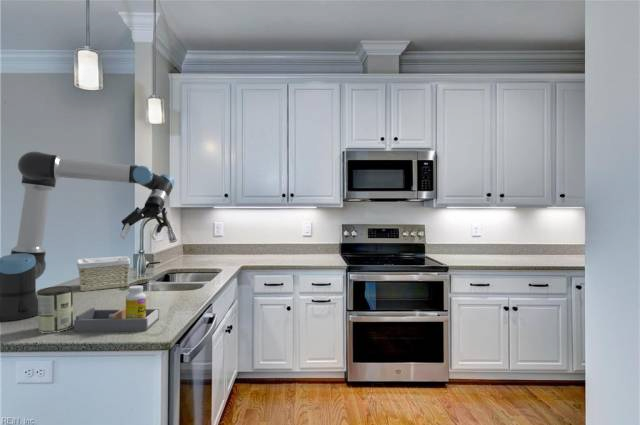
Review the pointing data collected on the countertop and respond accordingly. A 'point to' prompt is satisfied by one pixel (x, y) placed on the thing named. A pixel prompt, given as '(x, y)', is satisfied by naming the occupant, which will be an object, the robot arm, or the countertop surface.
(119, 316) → the lane pusher
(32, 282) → the robot arm
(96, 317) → the grey shallow box
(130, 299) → the supplement bottle
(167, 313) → the countertop surface
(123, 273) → the storage basket
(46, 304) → the coffee can
